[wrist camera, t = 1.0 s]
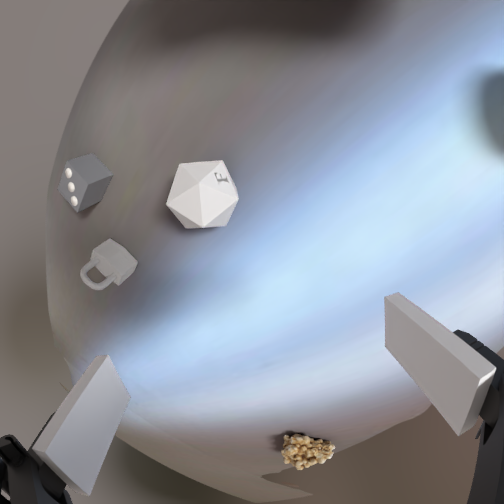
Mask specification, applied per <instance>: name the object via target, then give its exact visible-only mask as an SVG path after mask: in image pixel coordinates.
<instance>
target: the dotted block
mask: <svg viewBox="0 0 504 504" xmlns="http://www.w3.org/2000/svg"><path fill="white" fill-rule="evenodd" d="M113 175H114V174H113V173H112V172H111V171H110V170H109V169H108V168H107V167H106V166H105V165H104V164H103V163H102V162H101V161H100V160H99V159H98V158H97V157H96V156H95V155H94V154H93V153H91V154H87V155H84V156H80V157H77V158H74V159H71V160H68V161H67V162H66V165H65V167H64V170H63V173H62V176H61V180H60V183H59V186H58V189H57V190H58V191H59V192H60V193H61V194H62V196H63V197H64V198H65V199H66V200H67V201H68V203H69V204H70V205H71V206H72V207H73V208H74V210H75V211H76V212H77V213H78V212H80V211H82V210H84V209H86V208H88V207H90V206H92V205H94V204H96V203H98V202H100V201H101V200H102V198H103V196H104V194H105V191H106V189H107V187H108V185H109V183H110V181H111V179H112V177H113Z"/></svg>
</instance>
